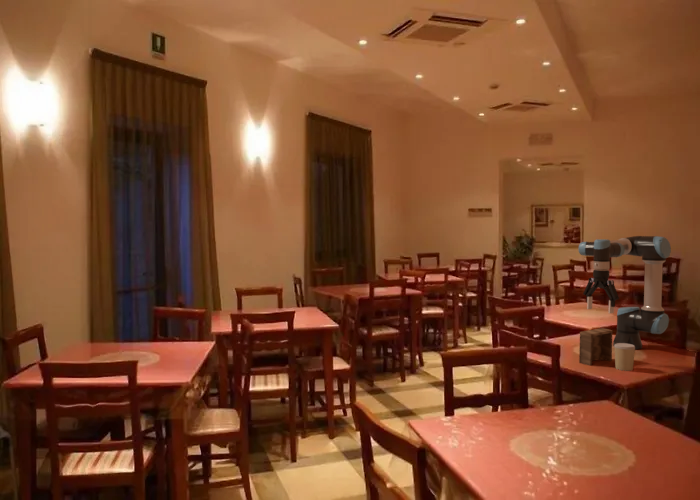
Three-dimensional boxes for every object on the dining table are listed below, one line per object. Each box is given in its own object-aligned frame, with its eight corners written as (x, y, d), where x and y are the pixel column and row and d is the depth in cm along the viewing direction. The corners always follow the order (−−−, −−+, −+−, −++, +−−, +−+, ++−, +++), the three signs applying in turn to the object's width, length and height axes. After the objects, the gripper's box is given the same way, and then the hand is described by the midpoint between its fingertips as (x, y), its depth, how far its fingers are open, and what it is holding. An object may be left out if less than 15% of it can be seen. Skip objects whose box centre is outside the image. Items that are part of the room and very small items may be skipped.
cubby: (600, 358, 297) (601, 328, 296) (611, 360, 292) (612, 330, 291) (579, 362, 288) (579, 331, 287) (590, 365, 282) (590, 334, 281)
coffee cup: (630, 366, 281) (630, 343, 280) (637, 371, 271) (638, 347, 271) (610, 366, 281) (611, 342, 281) (617, 371, 272) (618, 347, 271)
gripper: (576, 267, 292) (575, 307, 293) (616, 272, 269) (615, 315, 270) (587, 267, 295) (586, 307, 296) (627, 271, 272) (626, 314, 273)
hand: (600, 311), depth 283 cm, fingers open, 13 cm apart
